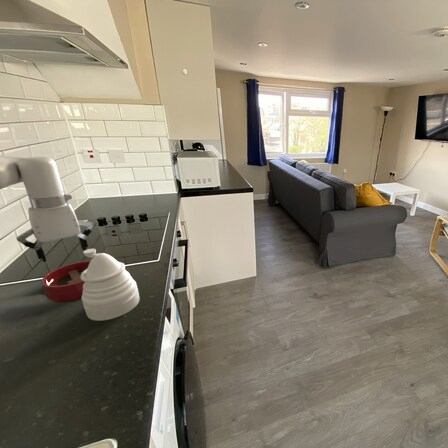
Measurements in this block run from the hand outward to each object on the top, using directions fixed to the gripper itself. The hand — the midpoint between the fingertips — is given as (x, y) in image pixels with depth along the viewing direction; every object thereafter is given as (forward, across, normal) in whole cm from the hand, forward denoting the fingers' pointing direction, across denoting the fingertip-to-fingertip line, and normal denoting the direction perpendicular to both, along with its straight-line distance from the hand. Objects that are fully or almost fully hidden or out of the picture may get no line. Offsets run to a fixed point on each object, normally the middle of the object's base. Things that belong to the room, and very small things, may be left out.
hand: (65, 254), depth 81 cm
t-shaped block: (+10, -1, +3) cm, 11 cm away
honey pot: (+11, -5, +21) cm, 24 cm away
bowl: (+11, -1, +3) cm, 11 cm away
